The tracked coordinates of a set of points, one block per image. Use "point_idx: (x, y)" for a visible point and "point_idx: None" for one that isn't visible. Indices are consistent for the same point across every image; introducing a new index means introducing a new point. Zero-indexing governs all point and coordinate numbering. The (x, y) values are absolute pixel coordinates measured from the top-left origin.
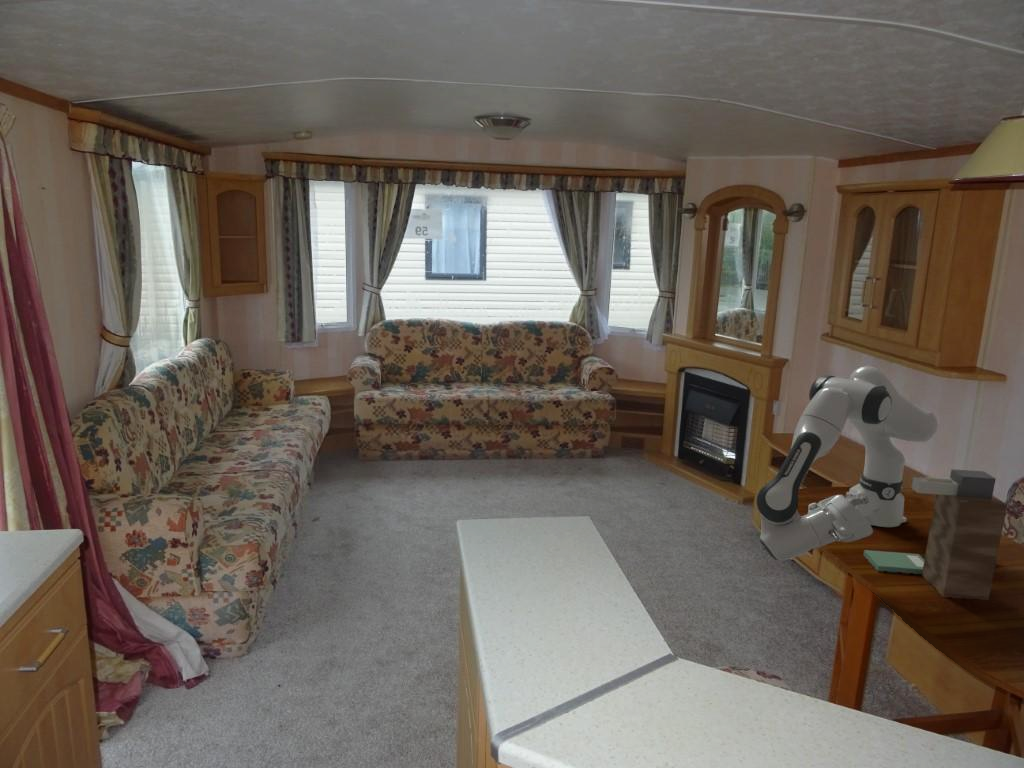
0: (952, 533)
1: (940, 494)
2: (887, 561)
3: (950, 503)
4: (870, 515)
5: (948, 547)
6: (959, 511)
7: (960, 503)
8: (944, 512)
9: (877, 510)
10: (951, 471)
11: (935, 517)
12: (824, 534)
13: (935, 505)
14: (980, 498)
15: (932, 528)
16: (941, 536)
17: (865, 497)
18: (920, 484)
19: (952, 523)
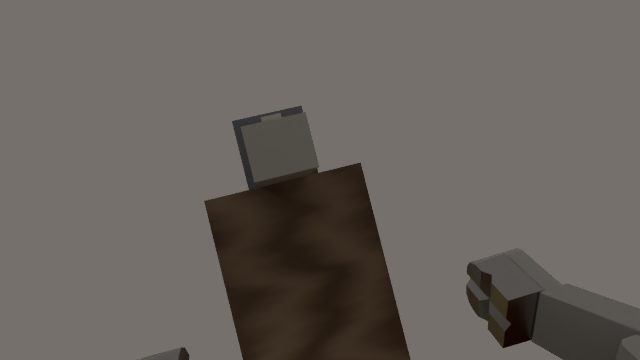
0: (376, 280)
1: (309, 173)
2: None
3: (311, 205)
4: (633, 316)
5: (381, 335)
6: (368, 196)
7: (361, 169)
8: (296, 255)
9: (512, 267)
10: (235, 127)
11: (254, 308)
12: None
13: (231, 272)
14: None
15: (259, 355)
16: (324, 336)
17: (178, 356)
18: (307, 126)
19: (358, 253)
